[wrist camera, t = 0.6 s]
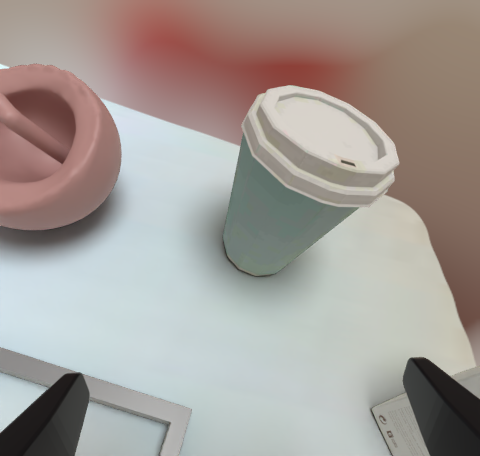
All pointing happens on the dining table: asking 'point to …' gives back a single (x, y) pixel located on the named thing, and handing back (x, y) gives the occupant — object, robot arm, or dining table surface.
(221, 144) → the dining table surface
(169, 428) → the gray square frame
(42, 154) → the mortar and pestle
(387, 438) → the skincare box
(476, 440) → the robot arm
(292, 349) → the dining table surface
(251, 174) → the disposable coffee cup
